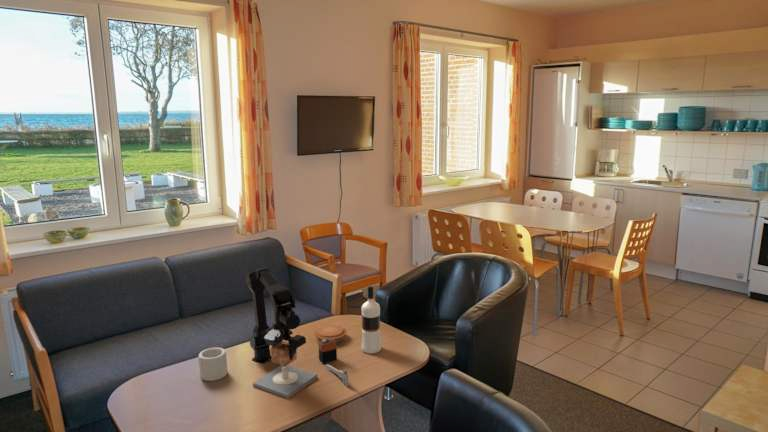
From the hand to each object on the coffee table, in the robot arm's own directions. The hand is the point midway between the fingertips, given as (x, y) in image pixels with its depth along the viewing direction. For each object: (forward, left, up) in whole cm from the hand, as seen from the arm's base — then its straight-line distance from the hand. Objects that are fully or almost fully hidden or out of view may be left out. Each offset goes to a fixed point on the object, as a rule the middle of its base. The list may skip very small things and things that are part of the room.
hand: (284, 357), depth 207 cm
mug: (-31, -10, -11) cm, 34 cm away
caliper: (+15, +14, -11) cm, 23 cm away
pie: (-8, +41, -11) cm, 43 cm away
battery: (+4, +23, -11) cm, 26 cm away
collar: (0, 0, -1) cm, 1 cm away
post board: (0, 0, -11) cm, 11 cm away
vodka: (+15, +41, -11) cm, 45 cm away
